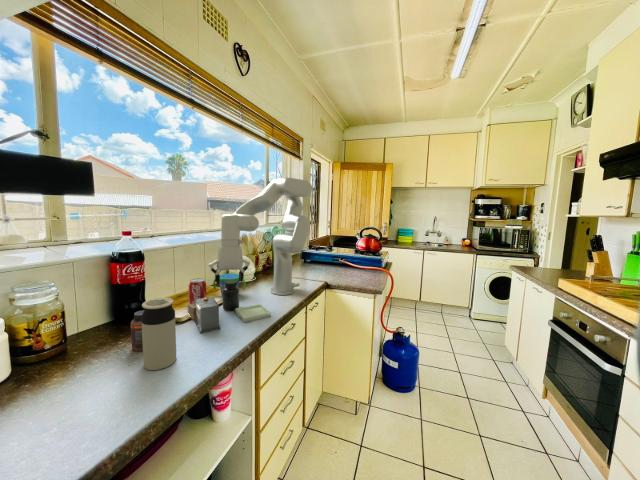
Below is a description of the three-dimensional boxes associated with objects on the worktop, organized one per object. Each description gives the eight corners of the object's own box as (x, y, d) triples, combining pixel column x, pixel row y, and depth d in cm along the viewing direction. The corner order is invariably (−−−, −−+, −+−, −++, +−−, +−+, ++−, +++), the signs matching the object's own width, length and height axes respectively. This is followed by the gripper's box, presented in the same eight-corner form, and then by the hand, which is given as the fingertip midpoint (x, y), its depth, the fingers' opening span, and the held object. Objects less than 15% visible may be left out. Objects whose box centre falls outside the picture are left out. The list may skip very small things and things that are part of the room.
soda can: (209, 305, 116) (209, 279, 114) (195, 310, 110) (194, 283, 108) (200, 302, 119) (200, 277, 118) (185, 306, 113) (185, 280, 112)
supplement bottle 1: (157, 347, 81) (155, 312, 80) (134, 354, 77) (132, 318, 76) (151, 339, 85) (150, 307, 84) (129, 346, 81) (128, 312, 80)
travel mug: (158, 374, 69) (156, 309, 66) (136, 367, 71) (133, 305, 69) (182, 357, 76) (181, 299, 74) (161, 352, 79) (159, 295, 76)
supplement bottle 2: (230, 304, 118) (229, 279, 117) (242, 306, 116) (242, 281, 114) (219, 309, 112) (219, 282, 110) (232, 312, 110) (232, 285, 108)
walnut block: (200, 313, 108) (200, 301, 107) (206, 316, 105) (206, 304, 104) (188, 316, 104) (187, 304, 104) (193, 320, 101) (193, 308, 100)
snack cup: (248, 293, 134) (248, 274, 133) (240, 300, 124) (240, 279, 123) (219, 291, 135) (219, 272, 134) (209, 298, 125) (209, 277, 124)
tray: (260, 307, 116) (260, 303, 116) (270, 316, 107) (270, 312, 107) (235, 312, 110) (235, 308, 110) (243, 322, 101) (243, 318, 100)
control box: (214, 317, 104) (213, 294, 103) (220, 328, 95) (220, 303, 94) (194, 321, 100) (194, 297, 99) (200, 333, 91) (199, 306, 90)
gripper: (247, 241, 118) (246, 278, 120) (207, 242, 108) (206, 282, 110) (253, 244, 112) (251, 282, 114) (210, 244, 102) (210, 286, 104)
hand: (229, 282), depth 112 cm, fingers open, 9 cm apart
